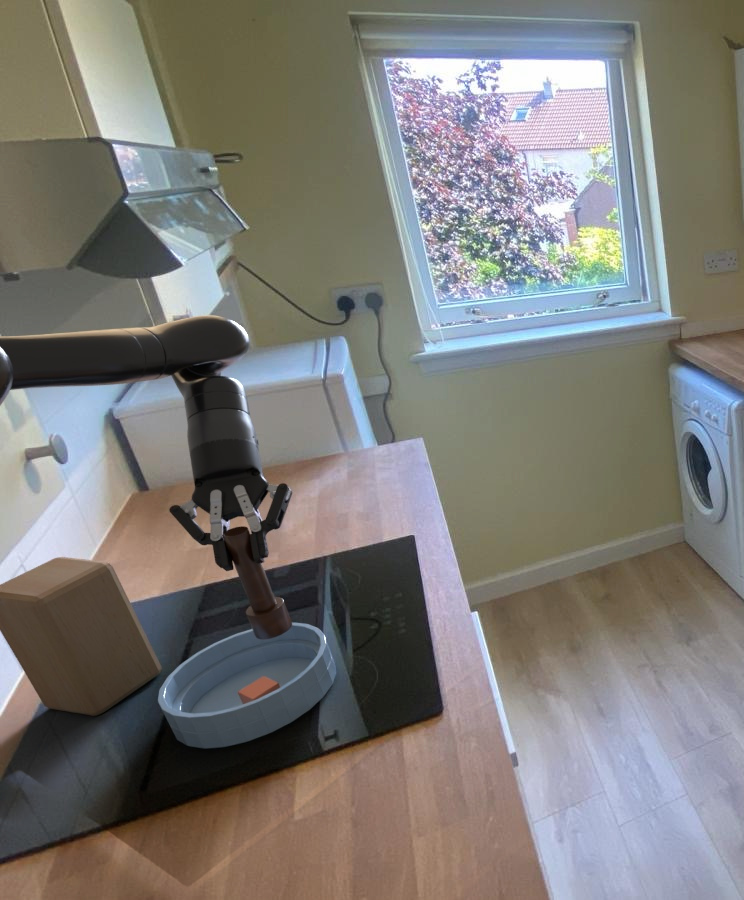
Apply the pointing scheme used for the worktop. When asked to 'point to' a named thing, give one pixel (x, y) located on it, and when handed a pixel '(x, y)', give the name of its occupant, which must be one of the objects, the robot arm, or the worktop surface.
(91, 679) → the wooden block
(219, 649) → the bowl
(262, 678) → the block
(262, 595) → the pestle
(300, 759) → the worktop surface
